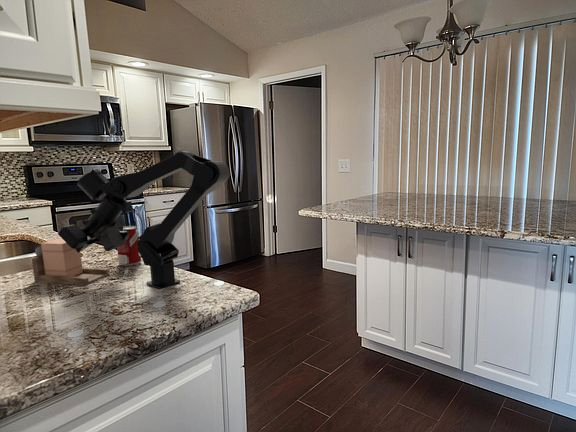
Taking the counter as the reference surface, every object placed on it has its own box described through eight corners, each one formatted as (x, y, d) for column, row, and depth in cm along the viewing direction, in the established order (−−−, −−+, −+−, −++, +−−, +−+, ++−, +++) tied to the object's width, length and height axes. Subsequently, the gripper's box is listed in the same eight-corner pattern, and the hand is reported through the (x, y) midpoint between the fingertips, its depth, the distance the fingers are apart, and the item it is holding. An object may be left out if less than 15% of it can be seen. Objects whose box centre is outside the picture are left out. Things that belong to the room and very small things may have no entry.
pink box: (83, 272, 110) (79, 239, 109) (66, 279, 105) (62, 244, 103) (62, 271, 112) (58, 238, 111) (45, 277, 106) (40, 243, 105)
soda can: (126, 268, 116) (122, 230, 114) (114, 265, 120) (111, 228, 118) (145, 263, 122) (142, 226, 120) (134, 260, 126) (131, 224, 124)
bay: (109, 274, 110) (105, 242, 109) (86, 285, 102) (82, 250, 100) (58, 271, 114) (55, 241, 113) (32, 281, 106) (28, 248, 104)
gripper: (103, 241, 92) (71, 282, 97) (148, 226, 110) (119, 262, 114) (72, 209, 93) (42, 251, 97) (122, 200, 111) (94, 236, 115)
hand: (78, 251), depth 106 cm, fingers closed
